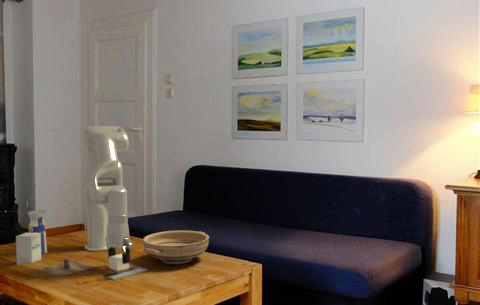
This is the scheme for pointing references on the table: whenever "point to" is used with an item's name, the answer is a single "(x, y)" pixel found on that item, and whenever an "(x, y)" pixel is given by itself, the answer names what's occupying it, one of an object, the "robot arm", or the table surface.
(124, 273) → the gray square plate
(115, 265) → the cream cube
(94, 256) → the table surface
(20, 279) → the table surface
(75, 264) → the tan square base plate
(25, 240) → the supplement box
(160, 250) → the ceramic bowl
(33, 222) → the spray bottle
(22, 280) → the table surface
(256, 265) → the table surface
